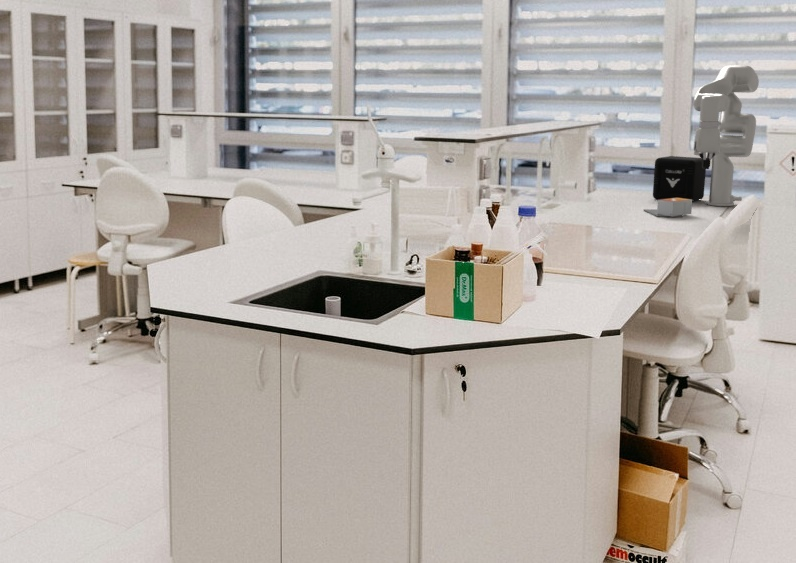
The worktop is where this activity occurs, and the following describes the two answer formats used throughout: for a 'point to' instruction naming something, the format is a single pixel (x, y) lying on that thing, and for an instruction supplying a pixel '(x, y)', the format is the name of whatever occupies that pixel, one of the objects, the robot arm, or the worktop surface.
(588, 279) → the worktop surface
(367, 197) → the worktop surface
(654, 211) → the rubber mat
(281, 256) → the worktop surface
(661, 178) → the air purifier
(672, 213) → the small box
